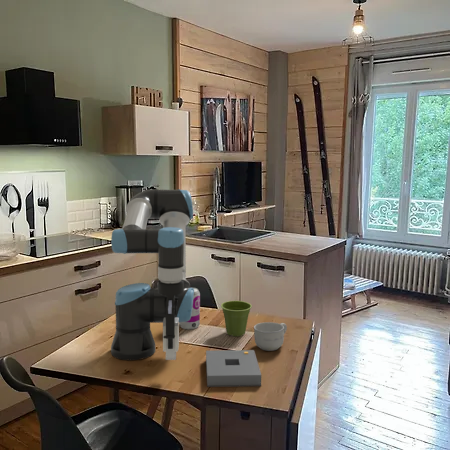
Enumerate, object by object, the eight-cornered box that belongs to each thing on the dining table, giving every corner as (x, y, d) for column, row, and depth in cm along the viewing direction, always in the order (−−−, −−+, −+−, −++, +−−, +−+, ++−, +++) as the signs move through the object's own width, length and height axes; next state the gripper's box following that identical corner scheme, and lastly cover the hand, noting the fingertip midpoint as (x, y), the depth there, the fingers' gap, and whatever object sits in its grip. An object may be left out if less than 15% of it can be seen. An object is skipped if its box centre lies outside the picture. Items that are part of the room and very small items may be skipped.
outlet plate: (207, 386, 137) (207, 374, 136) (206, 360, 154) (206, 349, 154) (261, 386, 138) (261, 374, 137) (253, 360, 155) (253, 349, 155)
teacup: (263, 356, 159) (264, 333, 158) (247, 344, 168) (248, 323, 167) (296, 348, 165) (297, 327, 164) (279, 338, 175) (280, 318, 174)
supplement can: (203, 325, 187) (203, 289, 185) (191, 331, 180) (191, 294, 178) (187, 321, 191) (187, 286, 189) (174, 327, 184) (174, 290, 182)
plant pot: (214, 331, 180) (214, 304, 178) (238, 325, 187) (238, 298, 185) (232, 341, 171) (233, 312, 169) (257, 334, 178) (258, 306, 176)
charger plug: (163, 361, 139) (162, 322, 137) (164, 354, 143) (163, 317, 142) (178, 360, 139) (178, 322, 137) (178, 354, 144) (178, 317, 142)
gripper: (182, 288, 129) (182, 367, 133) (184, 272, 146) (184, 342, 150) (155, 288, 129) (156, 367, 132) (160, 272, 146) (160, 342, 150)
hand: (170, 353), depth 141 cm, fingers closed on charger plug, 4 cm apart
